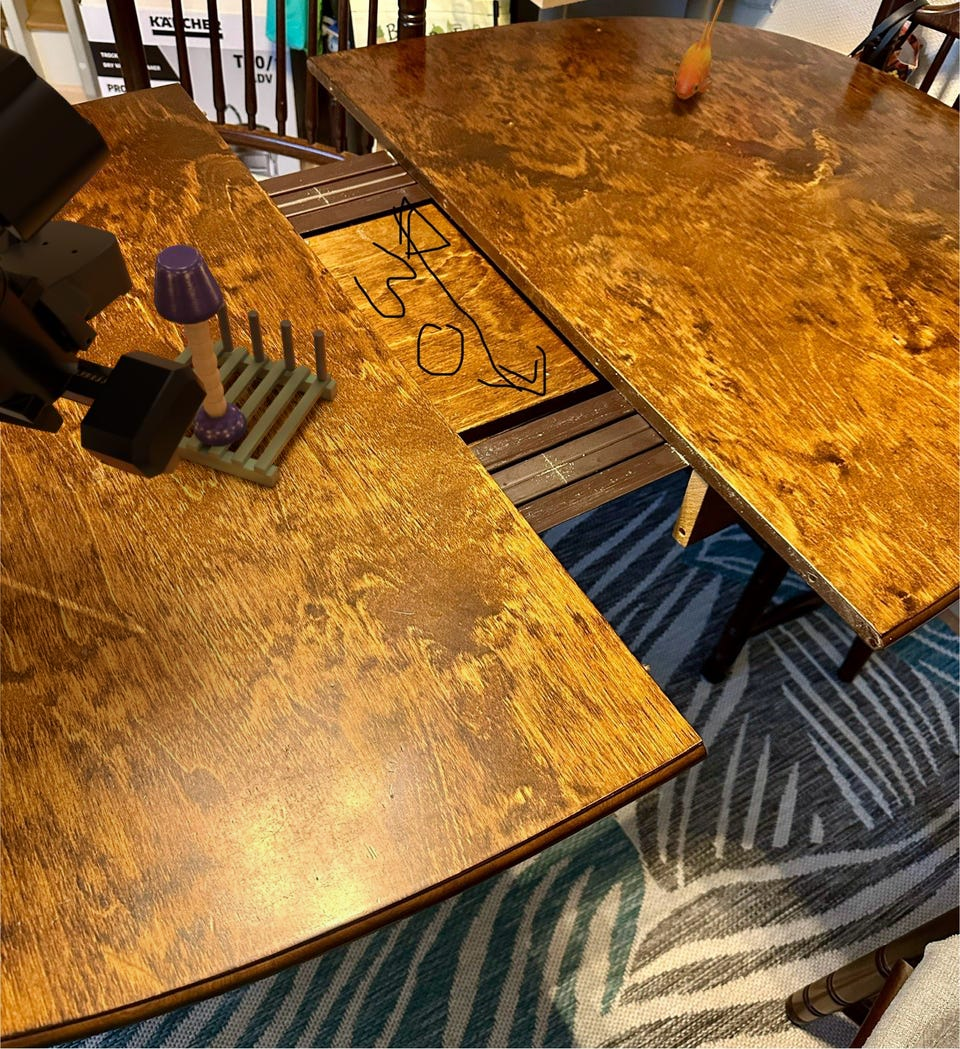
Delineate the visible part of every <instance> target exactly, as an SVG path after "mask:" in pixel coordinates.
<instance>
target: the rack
mask: <svg viewBox="0 0 960 1049" xmlns="http://www.w3.org/2000/svg"><path fill="white" fill-rule="evenodd" d="M259 314H260V313H259V311H257V310H256V309H249V311H247V321H248V327H249V333H250V341H251V346H252V352H253V354H250V350H249V348H246V347H243V346H239V345H238V346H237V347H236V348H235V346H234V340H233V335H232V334H233V333H232V329H231V324H230V318H229V317H230V316H229V311H228V306H227V302H226V301H225V300H223V303H222V306H221V308H220V310H219V311H218V312H217V314H216V316H217V321H218V322H217V323H218V327H219V332H220V336H221V338H220V339H221V340H220V339H217V341H216V342H215V343H214V342H213V345H214V351H213V352H214V354H215V355H216V357H217V367H220V368H218V370H219V372H220V375H221V380H220V382H221V384H222V386H223V387H224V386H225V384H226V383H227V382H228V381H229V379H231V377H232V376H233V375H234V373H235V372H237V373H241V374H240V375H239V377H238V378H237V379H236V380H235V381H234V382H233V384H232V385H231V386H230V388H229V389H228V390H227V391H226V393H224V395H223V396H224V397H225V399H226V402H228V403H231V404H233V405H235V406H236V404H237V403H238V402H239V400H240V399H241V397H242V396H243V395H244V394H245V392H246V391H247V390H248V389H249V387H250V386H251V385H252V383H253V382H254V381H255V380H256V378H257V379H260V380H262V381H261V382H260V383H259V385H258V386H257V387H256V389H255V390H254V391H253V392H252V394H251V395H250V396H249V398H248V399H247V400H246V401H245V402H244V404H243V405H242V407H241V408H239V409H240V410H241V411H242V412H243V414H244V416H245V418H246V420H247V424H248V423H249V422H250V421H251V419H252V418H253V417H254V415H255V414H256V412H257V411H258V410H259V409H260V407H261V406H262V405H263V403H265V401H266V399H267V398H268V397H269V396H270V394H271V392H272V391H273V390H274V389H275V387H276V386H277V385H279V386H283V387H282V389H281V390H280V391H279V393H278V394H277V395H276V397H275V398H274V400H272V402H271V403H270V405H269V406H268V408H267V409H266V410H265V411H264V413H263V414H262V416H261V417H260V418H259V420H258V421H257V423H255V425H254V426H253V427H252V429H251V430H250V432H249V433H248V435H247V436H246V437H245V439H244V440H243V441H242V443H241V444H240V445H239V447H238V448H237V449H236V451H235V452H234V451H232V450H231V451H230V450H229V448H231V446H232V444H228V445H224V446H213V445H208V444H205V443H203V442H202V441H200V440H199V439H198V438H197V437H196V435H195V433H194V432H193V434H192V435H191V437H188V436H185V435H184V437H183V439H182V440H181V442H180V444H179V446H178V452H179V456H180V459H184V460H187V461H190V462H193V463H196V464H199V465H202V466H205V467H208V468H211V469H214V470H217V471H220V472H223V473H226V474H229V475H232V476H235V477H238V478H241V479H245V480H247V481H251V482H254V483H257V484H259V485H262V486H266V487H269V488H272V489H273V488H274V487H275V485H276V484H277V482H278V481H279V480H280V474H279V467H278V466H276V465H273V463H275V461H276V460H277V458H278V457H279V455H280V454H281V452H282V451H283V450H284V448H285V447H286V445H287V444H288V443H289V441H290V440H291V439H292V437H293V435H294V434H295V433H296V431H297V430H298V428H299V427H300V425H301V424H302V422H303V421H304V420H305V418H306V417H307V415H308V414H309V412H310V411H311V409H312V408H313V407H314V405H315V403H317V401H318V400H319V398H320V399H324V400H327V401H330V402H332V401H333V400H334V399H335V397H336V396H337V394H339V393H338V392H339V391H338V381H337V380H335V379H332V374H331V373H328V368H327V367H328V366H327V352H326V339H325V332H324V330H322V329H316V330H314V331H313V333H312V336H313V348H314V349H313V350H314V360H315V369H316V370H315V372H316V374H315V373H312V372H311V367H308V366H306V365H302V364H300V365H298V367H297V364H296V355H295V347H294V338H293V337H294V336H293V327H292V321H291V320H289V319H283V320H281V321H280V322H279V325H280V336H281V343H282V352H283V358H279V359H278V360H277V361H273V360H270V355H269V354H267V353H265V349H264V343H263V335H262V329H261V320H260V315H259ZM192 356H193V355H192V354H191V353H190V351H189V347H188V345H187V346H185V347H184V349H183V350H182V351H181V352H180V353H179V355H178V356H177V357H176V358H175V359H174V360H173V361H175V362H179V363H182V364H185V365H188V366H190V364H191V363H192ZM192 370H193V371H194V372H195V374H196V370H195V368H194V367H193V368H192ZM298 392H301V393H304V395H303V396H302V398H301V399H300V401H299V402H298V403H297V404H296V406H295V407H294V409H293V410H292V412H290V414H289V415H288V417H287V419H286V420H285V421H284V423H283V424H282V425H281V427H280V428H279V430H278V431H277V432H276V434H275V435H274V437H273V438H272V439H271V441H270V443H269V444H268V445H267V447H266V448H265V449H264V451H263V452H262V454H261V455H260V456H259V458H258V459H254V458H252V457H251V456H252V455H253V454H254V452H255V451H256V449H257V448H258V446H259V445H260V444H261V443H262V442H263V440H264V438H265V437H266V435H267V434H268V433H269V431H270V430H271V429H272V427H273V426H274V424H276V421H277V420H278V419H279V417H280V416H281V415H282V413H283V412H284V410H286V408H287V407H288V405H289V404H290V402H291V401H292V400H293V398H294V397H295V396H296V394H297V393H298ZM202 407H204V405H203V403H202V405H201V406H200V408H199V410H200V409H201V408H202ZM199 410H198V411H199ZM197 413H198V412H197ZM195 416H196V415H195ZM194 419H195V417H194ZM194 419H193V421H192V422H191V424H190V426H189V428H188V430H189V429H190V428H191V426H193V424H194Z"/></svg>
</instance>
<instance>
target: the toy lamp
mask: <svg viewBox="0 0 960 1049" xmlns="http://www.w3.org/2000/svg"><path fill="white" fill-rule="evenodd" d="M153 278H154V280H153V282H154V283H153V304H154V305H153V306H154V308H155V310H156V313H157V314H158V315H159V316H160V317H161V318H163V319H164V320H166V321H167V322H170V323H174V324H177V325H183V332H184V335H185V337H186V338H187V340H188V342H187V346H188V347H189V351H190V353H191V354H192V355H193V356H192V362H191V363H192V366H193V369H194V368H195V370H196V375H197V376H198V377H199V378H200V380H201V381H202V382H203V383H204V386H205V389H206V392H207V396H206V397H205V399H204V401H203V405H204V407H202V408H201V409H200V410H199V411H198V413H197V414H196V416H195V419H194V423H193V424H192V426H193V428H192V429H193V434H194V433H195V435H196V437H197V438H198V439H199V440H200V441H202V442H203V443H205V444H208V445H212V446H224V445H228V444H231V445H232V444H234V443H236V442H238V441H239V440H240V439H241V438H242V437H243V436H244V435H245V433H246V432H247V430H248V423H247V420H246V418H245V416H244V414H243V412H242V411H241V410H240V409H241V408H239V407H238V406H237V405H236V404H235V405H233V404H231V403H228V402H226V399H225V397H224V395H225V390H224V386H222V384H221V382H220V380H221V375H220V372H219V368H218V365H217V357H216V355H215V354H214V352H213V351H214V345H213V343H214V341H213V339H212V338H211V327H210V325H209V323H208V320H210V319H212V318H213V317H215V316H217V312H218V311H219V310H220V308H221V306H222V303H223V301H224V296H223V292H222V289H221V288H220V286H219V283H218V282H217V280H216V278H215V276H214V275H213V273H212V271H211V269H210V267H209V265H208V263H207V262H206V260H205V258H204V257H203V255H202V254H201V252H200V251H199V250H198V249H197V248H195V247H193V246H191V245H188V244H174V245H170V246H168V247H167V246H166V247H165V248H163V249H161V251H160V252H159V253H158V254H157V256H156V258H155V263H154V277H153Z"/></svg>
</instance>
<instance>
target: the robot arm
mask: <svg viewBox="0 0 960 1049" xmlns="http://www.w3.org/2000/svg"><path fill="white" fill-rule="evenodd" d="M111 160H112V152H111V149H110V147H109V145H108V143H107V141H106V140H105V138H104V137H103V135H102V133H101V132H100V130H99V129H98V128H97V126H96V125H95V124H94V123H93V122H92V121H91V120H89V119H88V118H86V117H84V116H82V115H81V114H80V113H79V111H78V110H77V109H76V108H75V107H74V106H73V105H72V104H71V103H70V102H69V101H68V100H67V99H66V97H64V96H63V95H62V94H61V93H60V92H59V91H58V90H57V89H55V87H53V85H51V84H50V83H49V82H48V81H46V80H45V79H44V78H43V77H41V76H40V75H39V74H38V73H37V72H36V70H35V69H34V68H33V66H32V65H31V63H30V62H29V61H28V59H27V57H26V56H25V55H23V54H21V53H19V52H17V51H15V50H14V49H12V48H10V47H8V46H6V45H5V44H2V43H0V423H4V424H9V425H14V426H16V427H17V426H18V427H22V428H26V429H30V430H35V431H39V432H40V431H41V432H46V433H50V434H57V433H58V432H59V431H60V429H61V428H62V426H63V424H64V422H65V421H64V420H65V419H64V417H63V416H62V415H61V413H60V412H59V411H58V410H57V408H56V407H55V405H54V403H56V402H57V401H58V400H59V399H61V398H62V399H65V400H68V401H70V402H74V403H77V404H79V405H82V406H86V407H88V410H87V412H86V413H85V415H84V416H83V418H82V420H81V421H80V423H79V426H80V427H79V428H80V430H79V431H80V433H79V434H80V447H81V448H82V449H83V450H85V451H86V452H87V453H88V454H89V455H91V456H92V457H94V458H96V459H98V460H99V462H100V463H101V464H103V465H106V466H108V467H111V468H113V469H117V470H120V471H122V472H126V473H128V474H131V475H134V476H138V477H142V478H145V479H147V480H151V479H153V478H156V477H158V476H160V475H173V474H174V473H175V471H176V470H177V468H178V466H179V464H180V463H181V457H180V456H179V452H178V446H179V444H180V442H181V440H182V439H183V437H184V436H185V435H186V433H187V432H188V431H189V429H190V428H189V426H190V424H191V422H192V421H193V419H194V417H195V415H196V414H197V412H198V410H199V408H200V406H201V405H202V403H203V401H204V399H205V397H206V396H207V392H206V389H205V386H204V383H203V382H202V381H201V380H200V378H199V377H198V376H197V375H196V374H195V372H194V371H193V368H192V367H191V366H190V365H185V364H182V363H179V362H175V361H174V360H172V359H169V358H165V357H162V356H159V355H155V354H153V353H150V352H146V351H143V350H139V349H138V350H133V351H130V352H127V353H122V354H121V355H120V357H119V358H118V360H117V362H116V363H115V365H114V366H113V367H109V366H107V365H103V364H100V363H97V362H94V361H91V360H88V359H85V358H81V357H79V356H77V355H78V354H79V352H80V351H82V352H88V351H89V349H90V347H91V346H92V345H93V342H94V341H95V339H96V338H97V336H98V332H97V331H96V330H95V329H94V328H93V327H92V326H91V325H90V324H89V323H88V322H89V321H91V320H93V319H95V317H97V316H99V314H101V313H102V312H103V311H104V310H105V309H106V308H107V307H109V306H110V305H111V304H112V303H113V302H115V301H116V300H117V299H118V298H119V297H122V296H123V297H124V296H126V295H127V294H128V293H129V292H130V291H131V290H132V289H133V286H134V285H133V282H132V278H131V275H130V272H129V269H128V267H127V264H126V260H125V258H124V256H123V252H122V249H121V247H120V243H119V241H118V238H117V235H116V234H115V233H113V232H112V231H109V230H105V229H101V228H99V227H98V228H97V227H94V226H90V225H86V224H83V223H79V222H75V221H71V220H68V219H67V220H66V219H57V220H53V219H54V218H55V216H56V215H58V214H59V213H60V212H61V211H62V210H63V208H65V207H66V206H67V204H68V203H70V202H71V200H73V198H74V197H75V196H76V195H78V194H79V193H80V191H82V190H83V188H85V187H86V186H87V184H89V183H90V182H91V181H92V180H93V178H95V177H96V175H97V174H98V173H100V171H101V170H102V169H103V168H104V167H106V165H107V164H108V163H109V162H110V161H111ZM190 427H191V426H190ZM188 428H189V429H188Z"/></svg>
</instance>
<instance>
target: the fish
mask: <svg viewBox="0 0 960 1049" xmlns="http://www.w3.org/2000/svg"><path fill="white" fill-rule="evenodd" d="M724 2H725V1H724V0H720V1H719V3H718V5H717V8H716V11H715V14H714V15H713V19H712V21H711V24H710V19H707V23H706V25H705V27H704V29H703V31H702V35H701V37H700V40H699V41H697V42H695V43H694V44H692V45H691V46H690V47H689V48H688V49H687V50H686V52H685V54H684V55H683V57H682V59H681V62H680V63H679V66H678V69H677V71H675V70H672V78H673V85H674V90H675V92H676V95H677V97H678V99H681V100H687V99H689V98H691V97H692V96H694V95H695V94H696V93H701V94H702V93H703V92H705V91H707V89H709V88H710V86H711V85H712V84H713V83H714V80H711V77H708V75H709V74H710V71H711V69H712V67H713V63H712V60H713V58H712V46H713V39H714V30H713V27H714V25H715V24H716V22H717V19H718V16H719V14H720V12H721V9H722V7H723V3H724ZM709 24H710V25H709ZM675 72H676V73H675Z"/></svg>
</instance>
